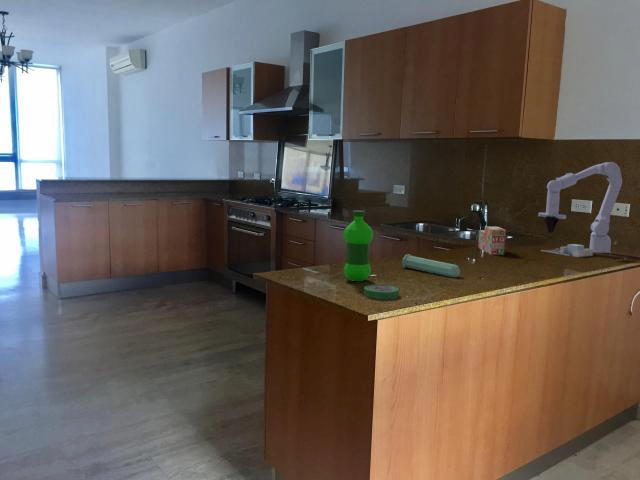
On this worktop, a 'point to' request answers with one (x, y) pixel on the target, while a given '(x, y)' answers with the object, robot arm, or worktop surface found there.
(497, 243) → the printed cardboard box
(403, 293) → the worktop surface
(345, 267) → the plastic bottle
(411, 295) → the worktop surface
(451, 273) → the container
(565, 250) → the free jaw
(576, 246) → the steel block
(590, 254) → the vise
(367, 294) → the tape roll
